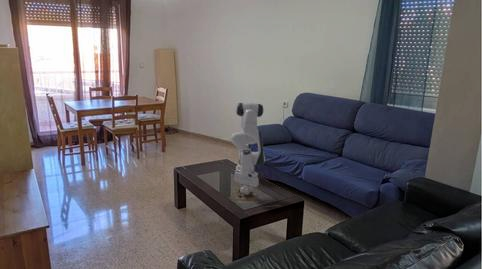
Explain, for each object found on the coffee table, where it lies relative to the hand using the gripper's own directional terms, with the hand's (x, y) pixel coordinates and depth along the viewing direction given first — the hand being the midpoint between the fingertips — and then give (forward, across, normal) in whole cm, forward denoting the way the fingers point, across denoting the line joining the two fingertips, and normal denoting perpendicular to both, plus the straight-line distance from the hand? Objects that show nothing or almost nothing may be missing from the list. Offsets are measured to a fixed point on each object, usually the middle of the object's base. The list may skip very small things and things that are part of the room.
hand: (246, 189), depth 251 cm
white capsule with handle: (+3, 0, -1) cm, 3 cm away
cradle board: (+5, +1, -2) cm, 6 cm away
